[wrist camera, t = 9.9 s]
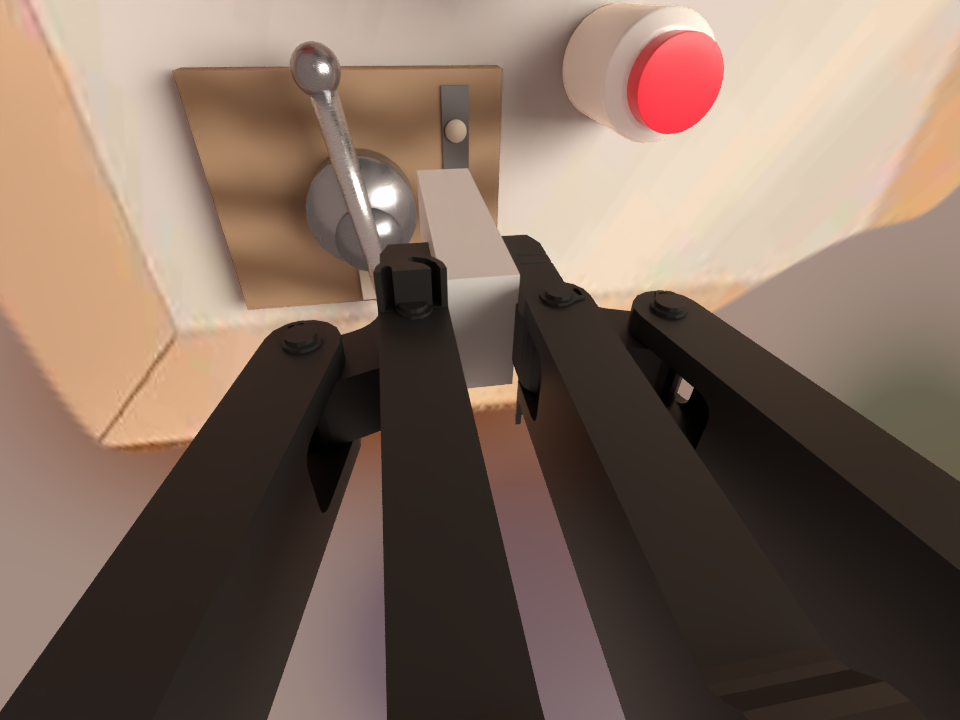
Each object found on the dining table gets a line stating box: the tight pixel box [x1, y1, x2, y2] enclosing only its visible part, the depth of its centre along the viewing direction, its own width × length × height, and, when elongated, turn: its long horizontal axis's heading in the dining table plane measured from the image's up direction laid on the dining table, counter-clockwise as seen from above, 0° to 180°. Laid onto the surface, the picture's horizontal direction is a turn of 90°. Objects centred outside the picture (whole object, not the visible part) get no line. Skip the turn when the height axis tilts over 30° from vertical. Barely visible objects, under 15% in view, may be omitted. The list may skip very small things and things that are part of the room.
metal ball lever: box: [290, 41, 417, 294], centre depth 37 cm, size 22×8×5 cm, turn 9°
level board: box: [172, 65, 503, 310], centre depth 39 cm, size 18×22×2 cm
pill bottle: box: [562, 3, 724, 143], centre depth 34 cm, size 8×8×11 cm
